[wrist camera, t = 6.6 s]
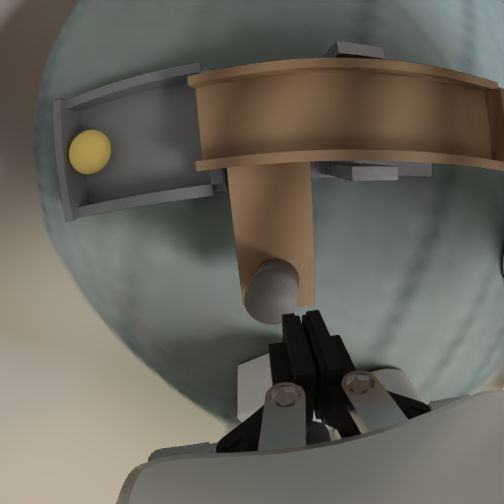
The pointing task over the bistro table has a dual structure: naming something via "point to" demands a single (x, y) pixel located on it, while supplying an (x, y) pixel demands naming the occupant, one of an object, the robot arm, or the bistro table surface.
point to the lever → (327, 148)
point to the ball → (89, 151)
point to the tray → (135, 144)
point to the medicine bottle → (255, 388)
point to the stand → (365, 168)
